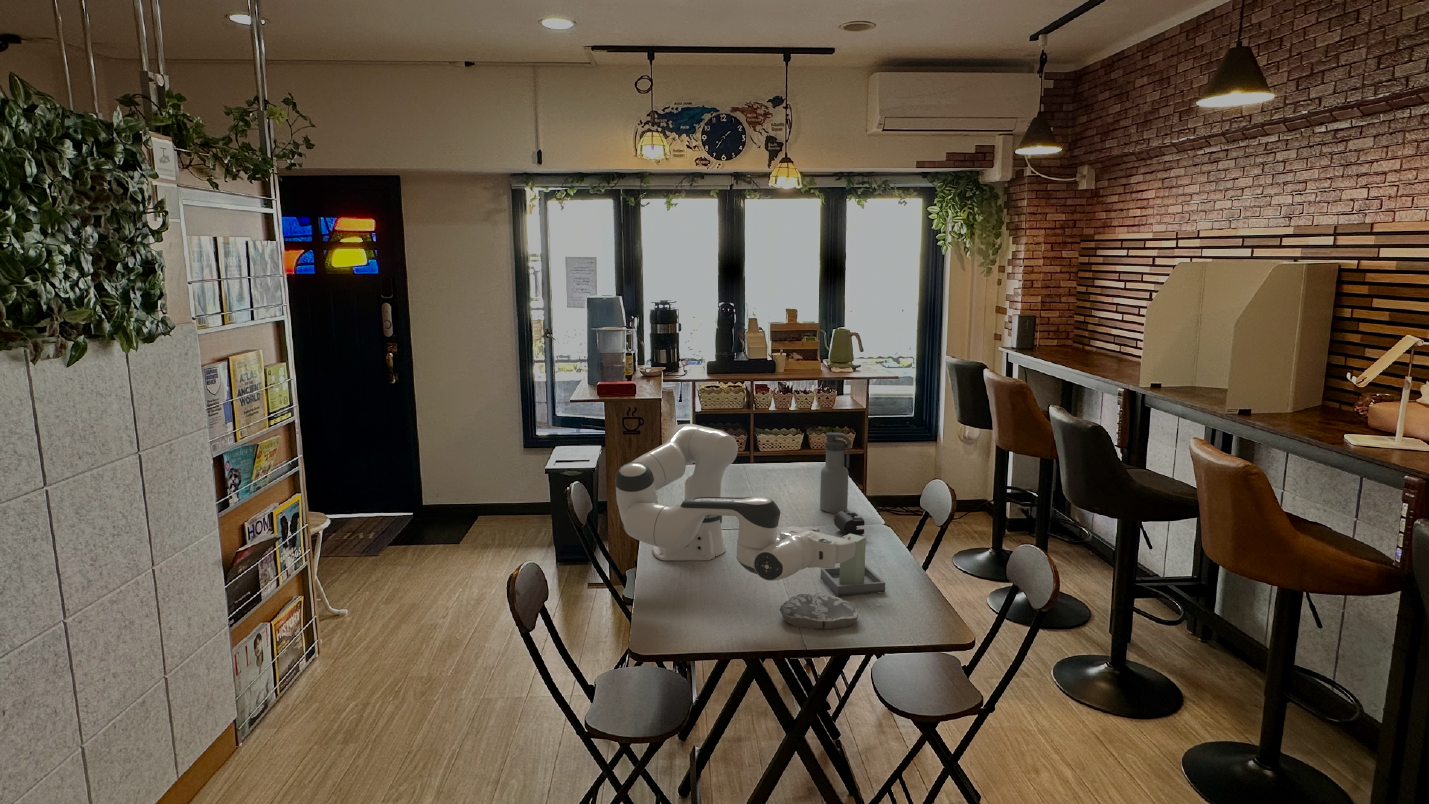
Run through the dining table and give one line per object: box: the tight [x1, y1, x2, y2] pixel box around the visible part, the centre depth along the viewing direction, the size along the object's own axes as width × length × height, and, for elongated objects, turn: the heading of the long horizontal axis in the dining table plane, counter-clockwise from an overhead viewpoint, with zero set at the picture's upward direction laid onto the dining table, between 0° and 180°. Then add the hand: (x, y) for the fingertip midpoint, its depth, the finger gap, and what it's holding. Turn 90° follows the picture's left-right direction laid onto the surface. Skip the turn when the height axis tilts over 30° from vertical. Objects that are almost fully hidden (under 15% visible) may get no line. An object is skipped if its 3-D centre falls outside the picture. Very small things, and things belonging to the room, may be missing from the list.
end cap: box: [833, 511, 866, 537], centre depth 276 cm, size 10×7×7 cm
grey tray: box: [820, 564, 886, 598], centre depth 234 cm, size 14×14×3 cm
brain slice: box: [779, 593, 859, 630], centre depth 213 cm, size 20×17×3 cm
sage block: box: [839, 533, 867, 585], centre depth 233 cm, size 5×5×13 cm
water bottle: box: [819, 431, 852, 514], centre depth 302 cm, size 10×10×28 cm
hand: (832, 534), depth 222 cm, fingers open, 8 cm apart
